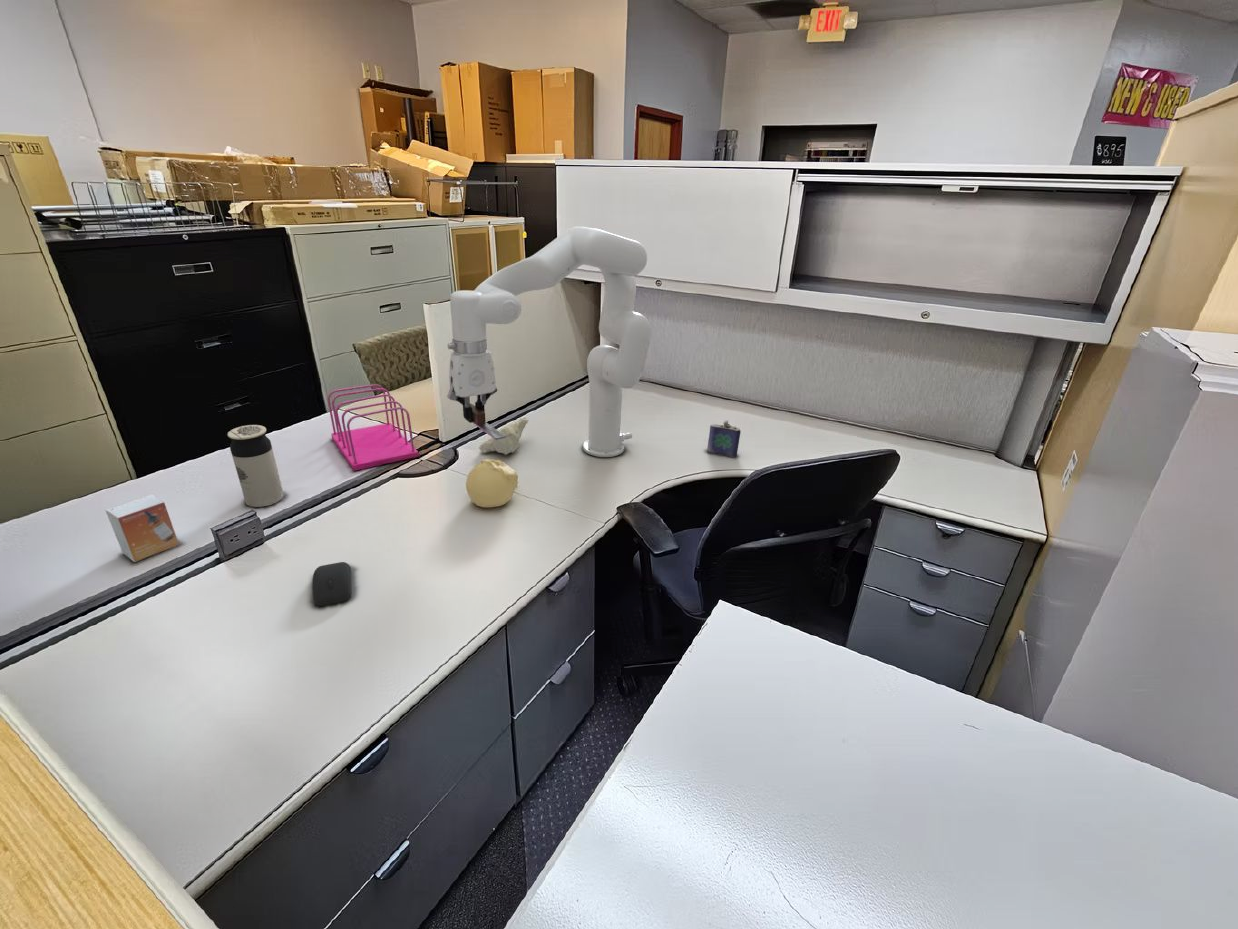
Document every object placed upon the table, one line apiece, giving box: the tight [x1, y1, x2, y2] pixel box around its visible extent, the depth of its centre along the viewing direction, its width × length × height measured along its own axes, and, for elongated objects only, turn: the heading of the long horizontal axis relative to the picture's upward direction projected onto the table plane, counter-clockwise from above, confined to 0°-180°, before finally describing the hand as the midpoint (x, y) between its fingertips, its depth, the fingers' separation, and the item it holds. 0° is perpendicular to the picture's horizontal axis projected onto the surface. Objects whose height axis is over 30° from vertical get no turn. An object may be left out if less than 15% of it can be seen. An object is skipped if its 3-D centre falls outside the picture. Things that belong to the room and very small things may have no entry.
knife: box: [470, 402, 506, 440], centre depth 134 cm, size 18×3×3 cm, turn 38°
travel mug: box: [227, 424, 285, 508], centre depth 131 cm, size 8×8×18 cm
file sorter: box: [327, 383, 419, 471], centre depth 160 cm, size 17×25×16 cm
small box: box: [105, 493, 180, 563], centre depth 113 cm, size 8×6×10 cm
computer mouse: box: [312, 561, 352, 607], centre depth 107 cm, size 6×11×4 cm, turn 24°
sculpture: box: [465, 458, 519, 508], centre depth 137 cm, size 11×12×11 cm
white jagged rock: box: [478, 416, 529, 456], centre depth 165 cm, size 15×7×15 cm
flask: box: [706, 420, 741, 458], centre depth 169 cm, size 9×3×11 cm, turn 71°
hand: (474, 419), depth 138 cm, fingers closed on knife, 2 cm apart
